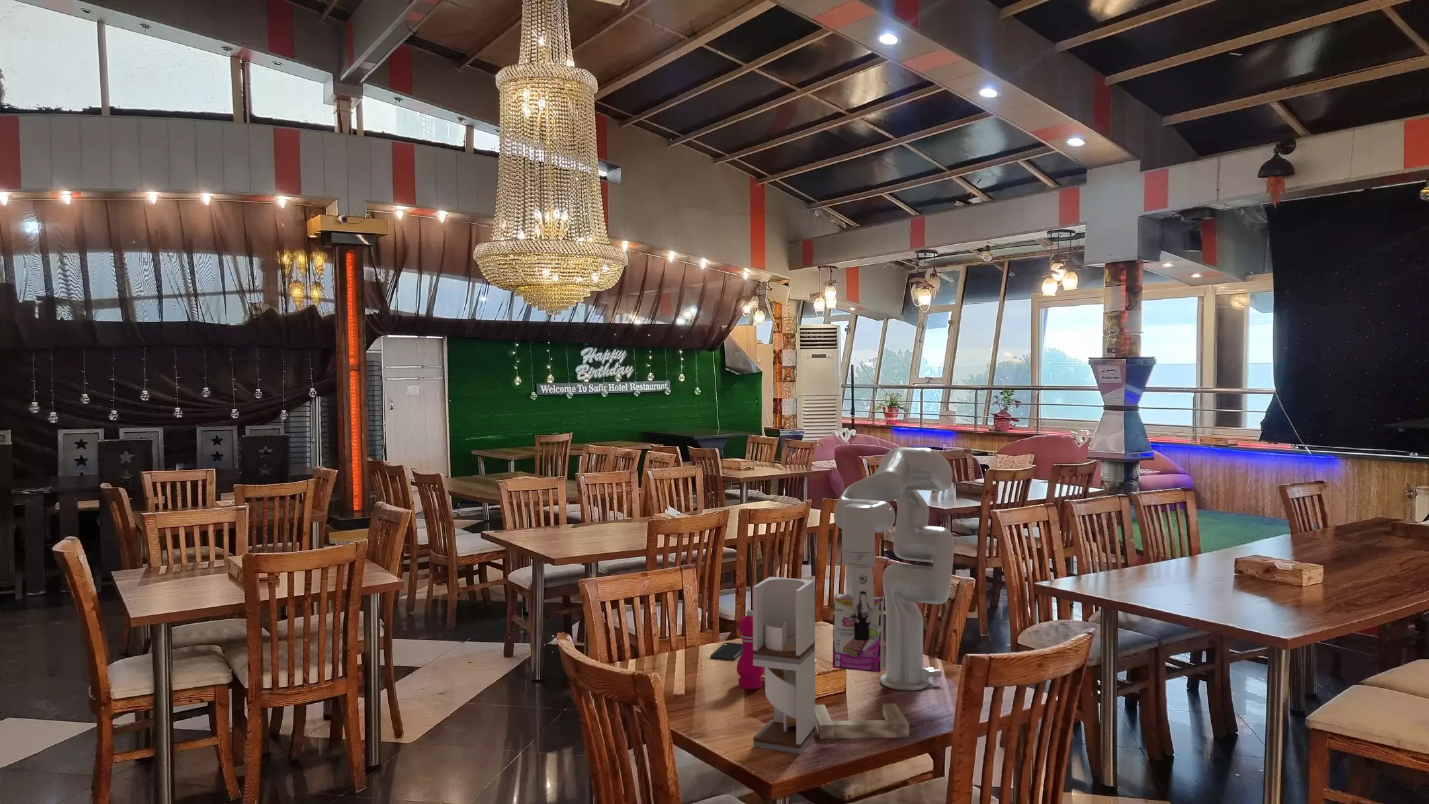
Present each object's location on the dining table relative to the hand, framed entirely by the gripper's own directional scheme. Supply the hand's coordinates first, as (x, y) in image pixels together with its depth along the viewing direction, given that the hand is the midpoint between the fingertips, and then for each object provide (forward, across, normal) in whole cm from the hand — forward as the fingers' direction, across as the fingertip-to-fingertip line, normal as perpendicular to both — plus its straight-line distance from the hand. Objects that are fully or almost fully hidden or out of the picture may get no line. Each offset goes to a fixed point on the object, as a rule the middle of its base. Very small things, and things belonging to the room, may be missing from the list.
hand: (858, 634), depth 205 cm
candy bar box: (+8, 0, 0) cm, 8 cm away
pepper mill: (+22, +30, +23) cm, 44 cm away
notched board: (+21, 0, 0) cm, 21 cm away
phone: (+22, +60, +27) cm, 69 cm away
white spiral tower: (+22, -7, +18) cm, 29 cm away
